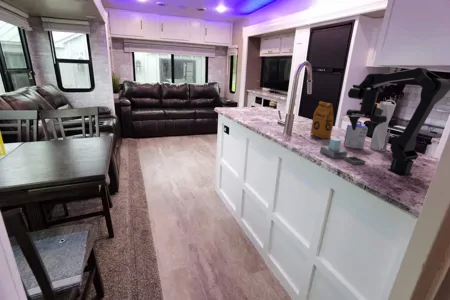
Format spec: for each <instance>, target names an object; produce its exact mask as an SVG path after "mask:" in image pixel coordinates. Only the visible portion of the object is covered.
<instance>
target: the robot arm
mask: <svg viewBox="0 0 450 300" xmlns="http://www.w3.org/2000/svg"><path fill="white" fill-rule="evenodd" d="M408 80H415V81H416V83H417V84H418V85H419V86H420V87H421V90H420V101H419V103H418V105H417V107H415V110H414V112H413V114H412V115H411V118H410V119H409V121H408V123H407V124H406V126H405V128H404V130H403V132H402V134H400V135H394V137H393V138H392V141H391V142H390V143H389V145H390V147H389V148H390V151H391V159H392V160H391V163H390V168H388V169H387V170H388V171H391V172H392V173H395V174H397V175H399V176H409V175H413V172H411V171H412V169H413V165H414V161H416V160H417V159H418V158H419V154H418V153H417V151H416V150H415V148H416V144H417V136H418V134H419V133H420V130H421V129H422V127H423V126H424V124H425V122H426V120H427V119H428V117H429V116H430V114H431V112H432V111H433V109H434V107H435V105H436V104H437V103H439V102H440V101H441V100H442V99H444V98H445V96H446V94H448V92H450V80H449V79H446V78H442V77H440V76H438V75H437V74H435V73H433V72H432V71H431V70H429V69H428V68H427V67H418V66H417V67H415V68H411V69H406V70H400V71H394V72H387V73H368V74H367V75H366V76H365V78H364V79H363V80H362V82H360V84H353V85H352V87H350V89H349V90H348V93H347V96H348V98H350V99H353V100H362V101H361V102H359V106H360V108H359V109H356V108H355V109H354V108H353V109H347V111H346V112H345V113H346V114H345V115H346V116H347V118H348V119H349V121H350V125H352V129H353V130H355V129H356V126H357V124H358V123H357V122H358V121H359V120H360V118H361V117H363V118H367V119H369V121H368V125H367V128H368V130H367V135H368V136H372V135H371V134H373V133H374V130H375V128H376V127H377V125H379V124H381V123H383V122H386V120H387V117H386V116H383V115H381V114H382V113H383V110H382V109H380V108H379V107H378V103H376V102H377V99H378V96H379V93H383V92H384V90H383V88H381V87H382V86H384V85H386V84H388V83H393V82H400V81H408Z"/></svg>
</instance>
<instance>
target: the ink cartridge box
mask: <svg viewBox="0 0 450 300" xmlns="http://www.w3.org/2000/svg"><path fill="white" fill-rule="evenodd" d="M367 135H368V126H366V125H362V121H359V120H358V122H357V126H356V129H355V130H353V129H352V125H351V124H347V126H346V131H345V135H344V141H343V146H344V147H345V148H353V149H354V148H355V149H360V150H361V149H364V145H365V140H366V137H367Z"/></svg>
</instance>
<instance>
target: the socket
mask: <svg viewBox="0 0 450 300" xmlns="http://www.w3.org/2000/svg"><path fill="white" fill-rule="evenodd" d="M319 152H320V153H322V154H324V155H326V156H327V157H330V158H331V157H332V158H331V159H345V157H348V151H347V150H345V149H343V148H340V149H339V150H338V151H333V150H331V149H329V145H321V146H320V148H319Z"/></svg>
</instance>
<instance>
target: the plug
mask: <svg viewBox="0 0 450 300" xmlns="http://www.w3.org/2000/svg"><path fill="white" fill-rule="evenodd" d="M329 139H330V140H329V143H328V146H329V149H331V150H333V151H338V150H339V149H341V144H342V140H341V139H338V138H329Z"/></svg>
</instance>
